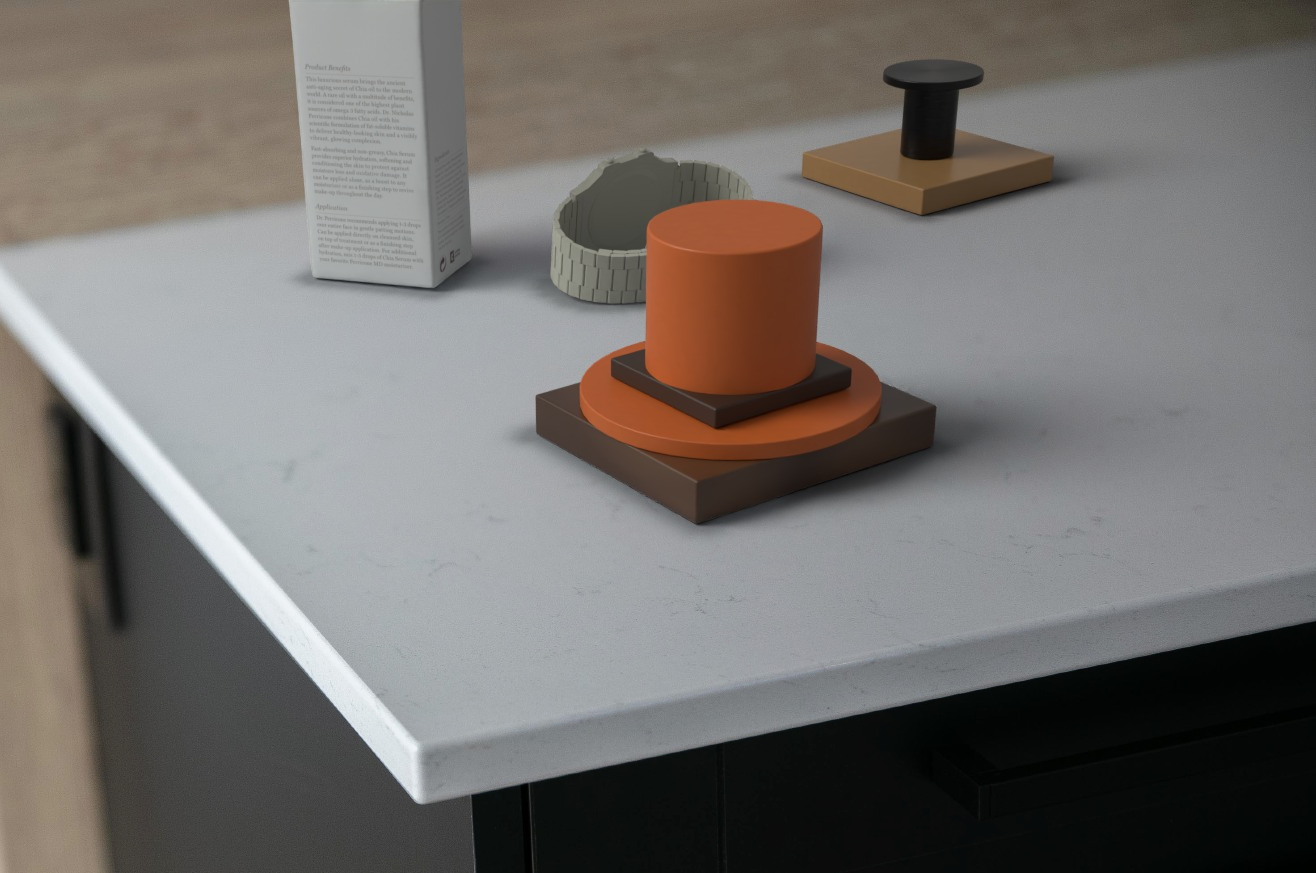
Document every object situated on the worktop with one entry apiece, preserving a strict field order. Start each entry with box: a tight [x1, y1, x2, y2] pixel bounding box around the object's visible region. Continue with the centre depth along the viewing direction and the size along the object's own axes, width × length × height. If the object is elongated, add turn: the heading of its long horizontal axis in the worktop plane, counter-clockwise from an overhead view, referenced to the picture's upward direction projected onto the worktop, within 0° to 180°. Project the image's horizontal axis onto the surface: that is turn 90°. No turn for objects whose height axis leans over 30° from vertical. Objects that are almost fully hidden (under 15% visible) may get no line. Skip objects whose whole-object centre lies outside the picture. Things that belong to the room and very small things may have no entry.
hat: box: [580, 199, 882, 461], centre depth 65 cm, size 10×10×6 cm
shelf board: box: [535, 381, 938, 524], centre depth 66 cm, size 10×9×2 cm
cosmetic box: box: [288, 0, 473, 289], centre depth 82 cm, size 6×4×12 cm
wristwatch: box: [550, 146, 754, 304], centre depth 80 cm, size 9×6×5 cm
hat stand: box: [801, 58, 1055, 216], centre depth 90 cm, size 8×8×5 cm
